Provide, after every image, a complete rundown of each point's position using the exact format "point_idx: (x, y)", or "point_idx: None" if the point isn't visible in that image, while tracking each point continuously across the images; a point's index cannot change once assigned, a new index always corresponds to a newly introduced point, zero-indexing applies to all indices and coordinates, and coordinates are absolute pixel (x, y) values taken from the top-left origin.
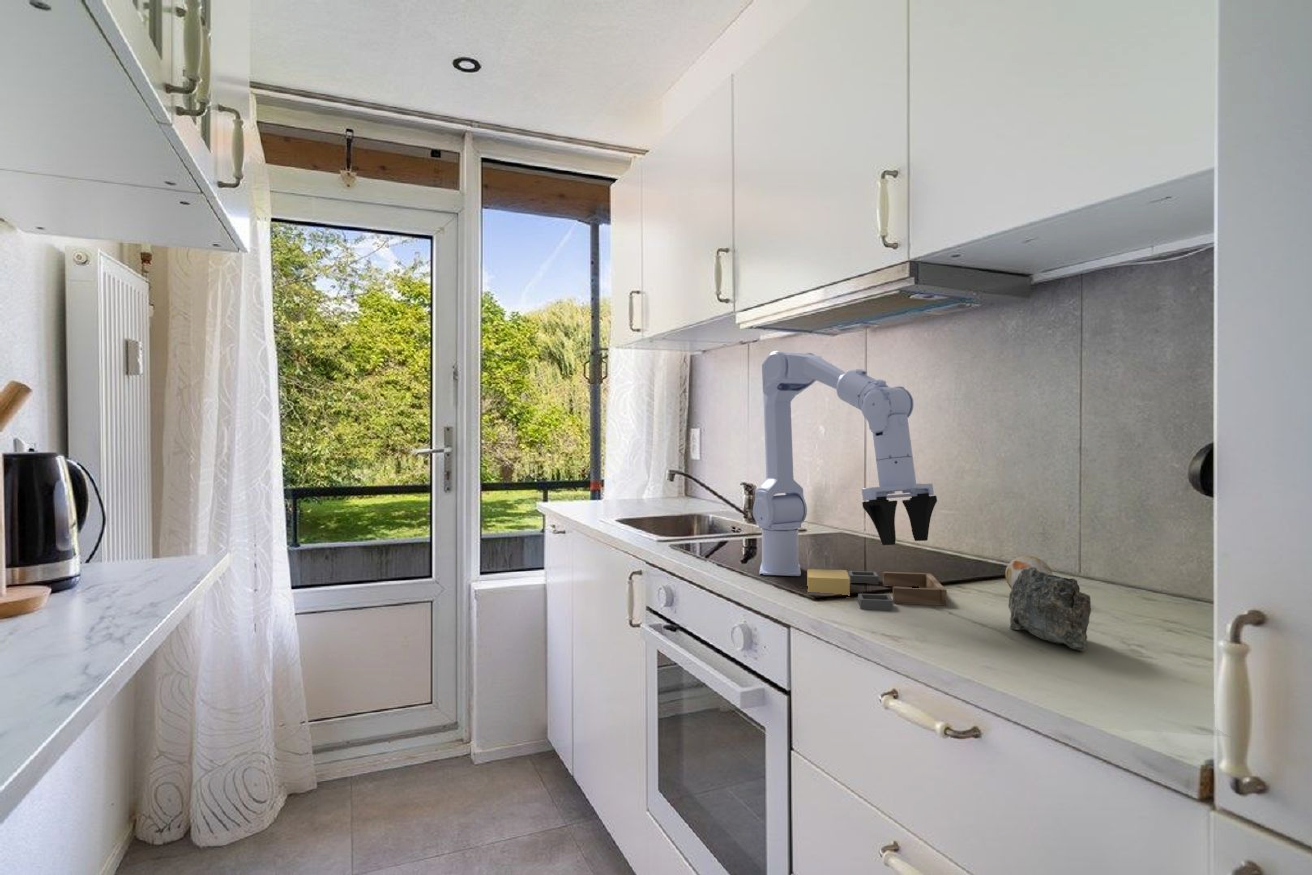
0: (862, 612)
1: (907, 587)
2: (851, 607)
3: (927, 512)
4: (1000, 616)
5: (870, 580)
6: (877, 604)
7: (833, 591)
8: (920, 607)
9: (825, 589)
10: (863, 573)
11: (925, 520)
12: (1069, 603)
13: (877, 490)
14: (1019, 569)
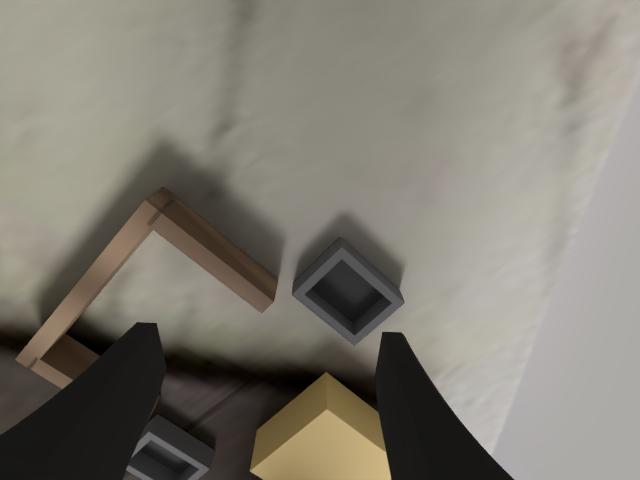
0: (424, 266)
1: (229, 285)
2: (405, 310)
3: (49, 444)
4: (112, 7)
5: (170, 432)
6: (370, 268)
7: (356, 404)
8: (248, 214)
9: (370, 418)
10: (149, 472)
11: (95, 403)
12: None
13: None
14: None
